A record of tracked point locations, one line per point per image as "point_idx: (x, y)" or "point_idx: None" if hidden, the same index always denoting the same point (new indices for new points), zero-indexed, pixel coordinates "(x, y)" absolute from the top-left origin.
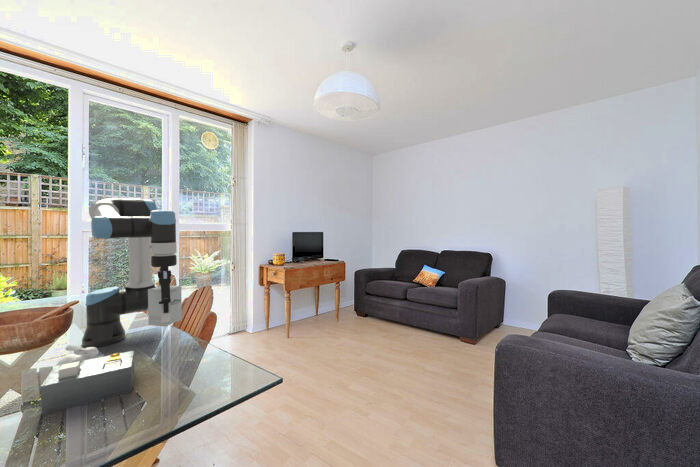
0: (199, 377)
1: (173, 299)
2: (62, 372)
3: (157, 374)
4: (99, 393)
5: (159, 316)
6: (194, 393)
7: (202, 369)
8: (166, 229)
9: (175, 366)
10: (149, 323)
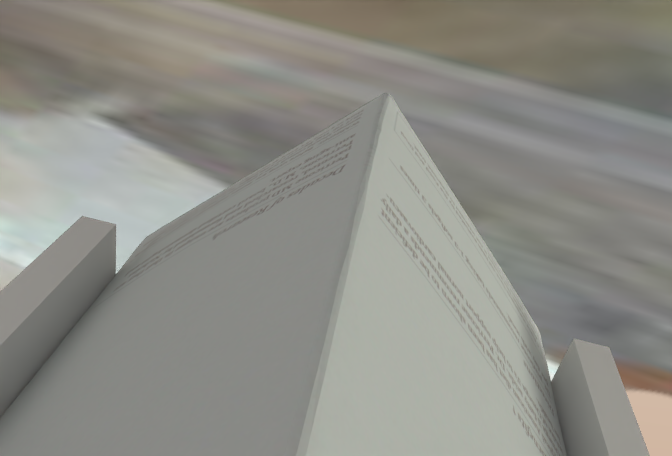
0: (177, 192)
1: None
2: None
3: (408, 27)
4: None
5: (161, 266)
6: (13, 112)
7: None
8: None
9: (439, 149)
10: (364, 110)
